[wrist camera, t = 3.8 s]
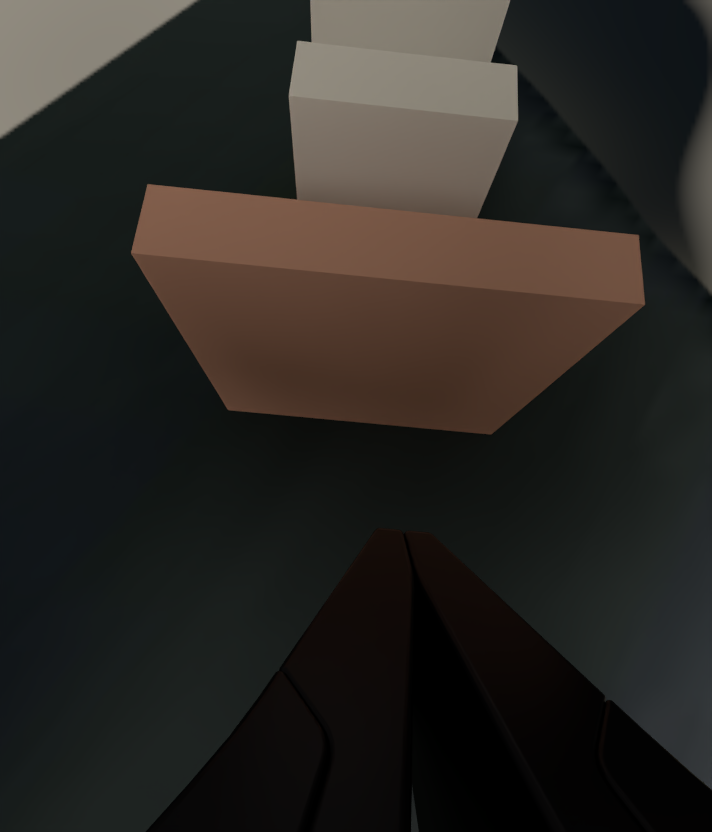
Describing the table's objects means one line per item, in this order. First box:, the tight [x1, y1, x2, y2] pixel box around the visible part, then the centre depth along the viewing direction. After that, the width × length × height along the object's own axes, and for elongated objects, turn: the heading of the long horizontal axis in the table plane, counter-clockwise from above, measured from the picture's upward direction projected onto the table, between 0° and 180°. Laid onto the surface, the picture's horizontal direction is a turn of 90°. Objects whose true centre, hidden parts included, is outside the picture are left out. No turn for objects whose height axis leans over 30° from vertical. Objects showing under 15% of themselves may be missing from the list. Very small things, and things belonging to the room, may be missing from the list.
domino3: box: [310, 0, 510, 63], centre depth 17 cm, size 2×5×10 cm, turn 86°
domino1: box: [131, 184, 645, 435], centre depth 15 cm, size 2×10×10 cm, turn 85°
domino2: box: [289, 41, 518, 218], centre depth 16 cm, size 2×5×10 cm, turn 86°
